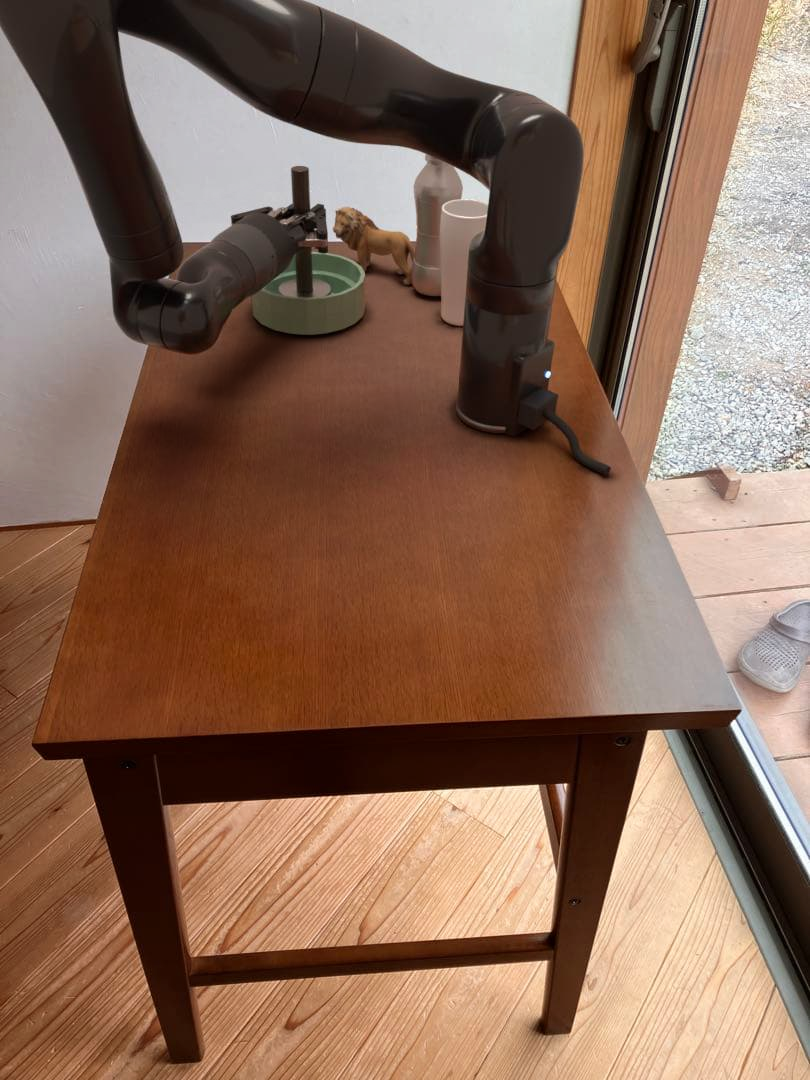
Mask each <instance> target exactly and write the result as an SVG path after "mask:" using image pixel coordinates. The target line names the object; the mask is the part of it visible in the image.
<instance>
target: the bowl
mask: <svg viewBox="0 0 810 1080" xmlns="http://www.w3.org/2000/svg"><path fill="white" fill-rule="evenodd" d="M312 273H313V278H314V279H319V280H322V281H324V282H326V283H328V284H329V285H330V287H331V295H327V296H320V297H291V296H285V295H280V294H279V286H280V285H281V284H282V283H284V282H285V281H288V280H291V279H296V266H295V255H294V257H293V259H292V261H291V263H290V265H289V266H288V268H287V269H286V270H285V271H284V272H283V273H281V274H280V275H279V276H278V277H276V278H275V279H274V280H273V281H271V282H270V283H269V284H268V285H266V286H265V287H264V288H263V289H261V290H260V291H259V292H257V293H256V294H254V295H252V296H250V304H251V312H252V317H254V319H255V320H256V321H257V322H258V323H259V324H261V325H262V326H265V327H267V328H269V329H271V330H273V331H277V332H281V333H286V334H291V335H302V336H315V335H316V336H317V335H323V334H329V333H332V332H337V331H341V330H344V329H346V328H349V327H351V326H353V325H355V324H357V322H358V321H360V319H361V318H363V317H364V314H365V311H366V273H365V272H364V270H363V268H362V267H361V266H360V263H357V261H355V260H353V259H351V258H348V257H345V256H343V255H340V254H334V253H330V252H328V253H324V254H322V253H319V252H318V251H312Z"/></svg>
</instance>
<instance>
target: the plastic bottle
mask: <svg viewBox="0 0 810 1080" xmlns="http://www.w3.org/2000/svg"><path fill="white" fill-rule="evenodd" d="M424 160H425V161H426V163H425V165H424V167H423V168H421V170H420V171H419V173H418V174H417V176H416V178H415V180H414V183H413V197H414V198H413V199H414V209H415V218H416V220H415V221H416V223H415V224H416V237H415V239H416V240H415V246H414V247H415V248H414V254H415V256H414V260H413V262H412V265H411V278H412V283H411V284H412V286H413V287H414V289H415V290H416V292H418V293H419V294H420V295H425V296H429V297H441V273H440V219H441V210H442V206H443V205H444V204H445V203H446V202H449V201H452V200H459V199H463V198H462V196H463V191H464V187H463V183H462V180H461V177H460V175H459V173H458V172H457V170H456V167H454V166H452V165H450V164H448V163H445V162H443V161H441V160H439V159H437V158H434V157H432V156H430V155H427V154H425V155H424Z"/></svg>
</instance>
